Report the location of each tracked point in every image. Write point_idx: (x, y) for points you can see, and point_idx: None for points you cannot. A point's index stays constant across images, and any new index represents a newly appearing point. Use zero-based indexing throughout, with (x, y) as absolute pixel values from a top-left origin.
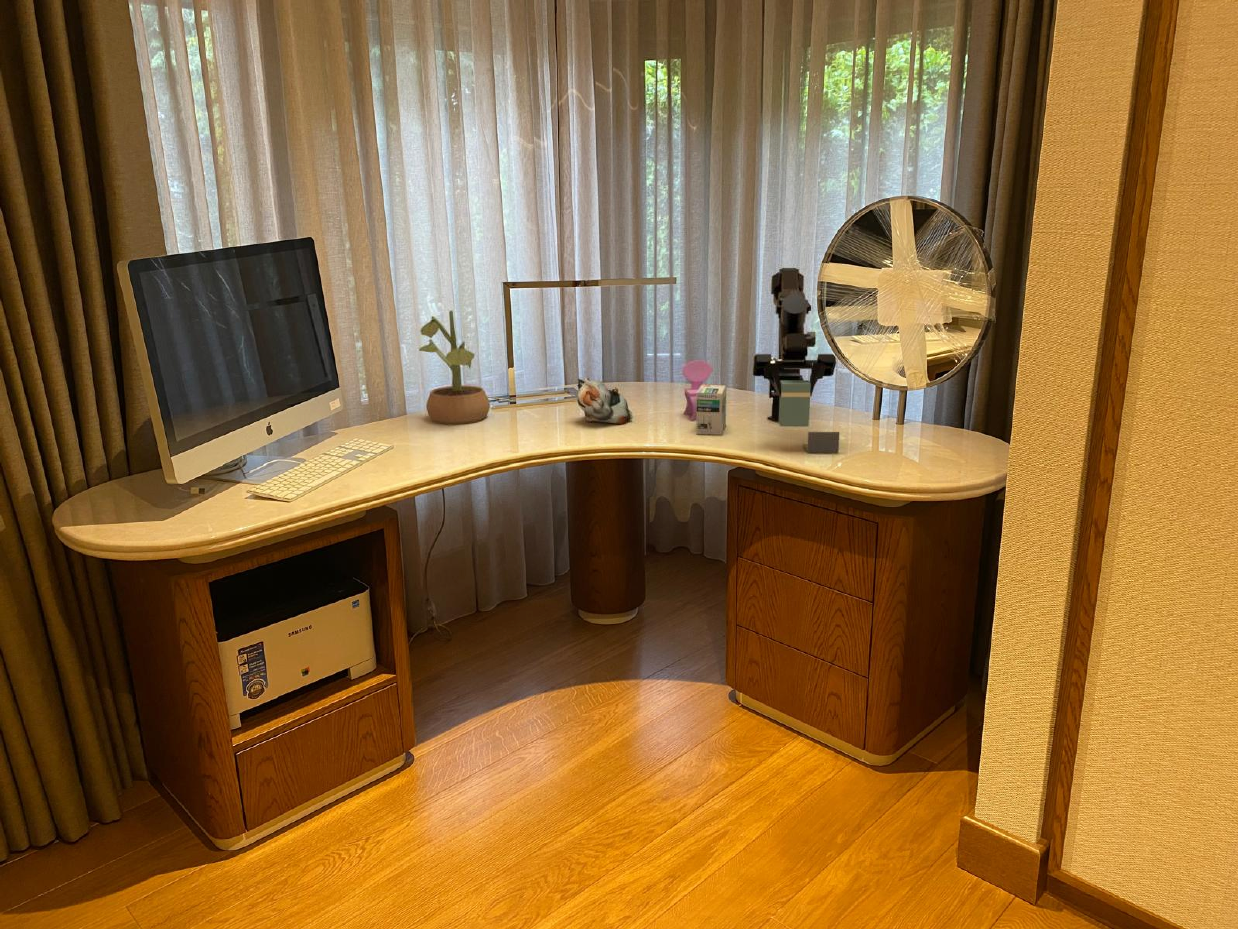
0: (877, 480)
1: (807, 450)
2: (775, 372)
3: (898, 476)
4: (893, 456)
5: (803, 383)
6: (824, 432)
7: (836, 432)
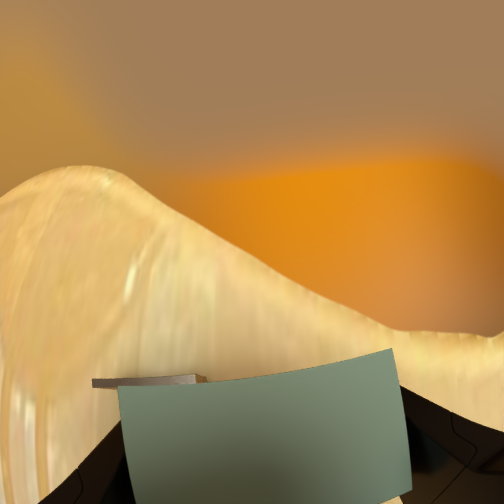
0: (89, 187)
1: (205, 382)
2: (497, 455)
3: (49, 216)
4: (17, 355)
5: (185, 410)
6: (138, 378)
7: (100, 379)
